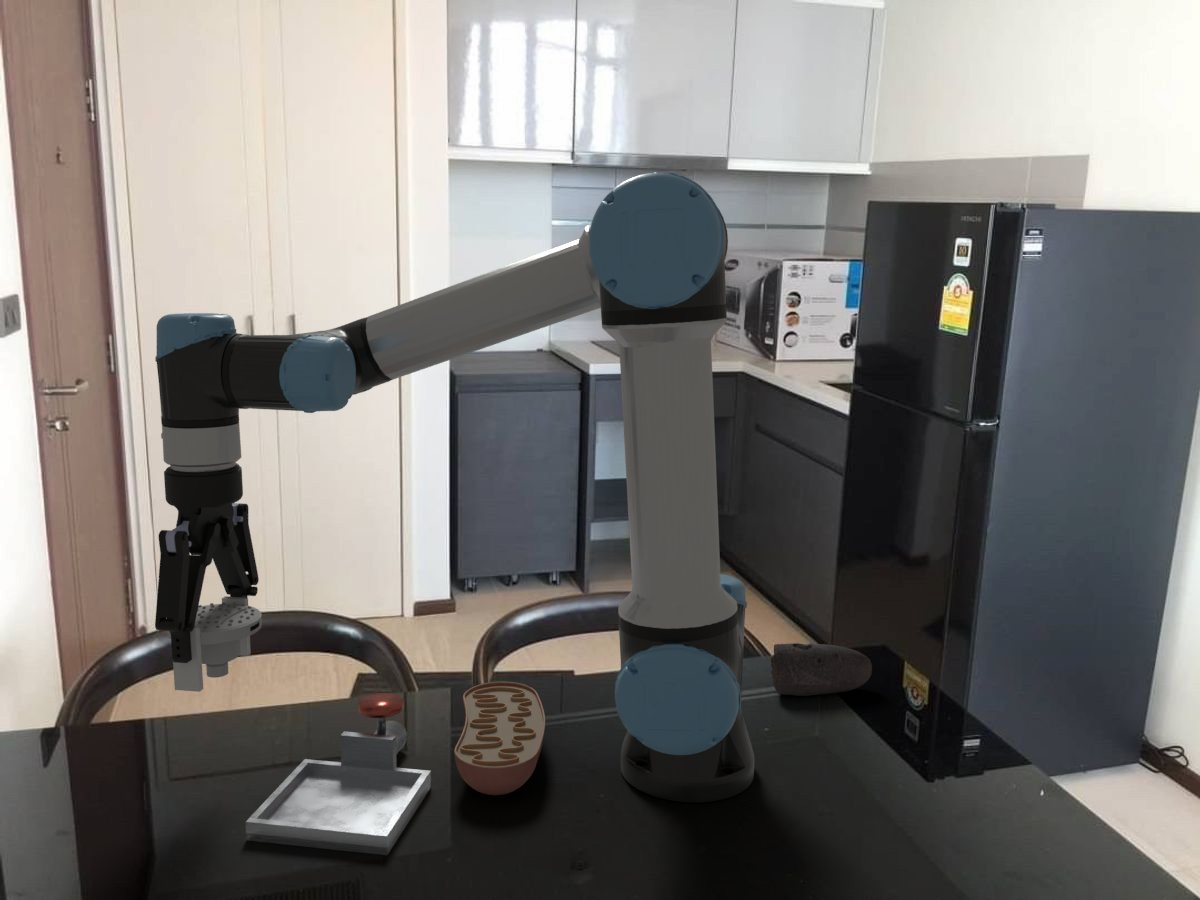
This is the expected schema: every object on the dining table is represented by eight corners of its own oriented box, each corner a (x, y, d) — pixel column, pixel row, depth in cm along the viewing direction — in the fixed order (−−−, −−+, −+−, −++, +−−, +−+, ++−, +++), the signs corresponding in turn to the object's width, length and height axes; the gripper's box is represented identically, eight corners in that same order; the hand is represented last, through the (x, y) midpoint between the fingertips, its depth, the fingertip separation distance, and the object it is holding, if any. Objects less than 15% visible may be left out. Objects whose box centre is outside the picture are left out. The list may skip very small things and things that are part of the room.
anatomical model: (465, 719, 131) (465, 681, 131) (543, 718, 132) (544, 680, 131) (451, 812, 109) (451, 767, 108) (546, 810, 110) (546, 766, 109)
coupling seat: (387, 855, 100) (385, 784, 99) (246, 840, 103) (243, 770, 101) (452, 754, 121) (451, 694, 120) (334, 744, 124) (332, 685, 122)
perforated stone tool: (863, 682, 145) (866, 635, 144) (879, 698, 140) (882, 649, 139) (759, 687, 143) (761, 639, 142) (771, 703, 138) (773, 653, 137)
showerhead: (194, 591, 115) (277, 598, 114) (198, 654, 117) (280, 661, 115) (141, 618, 106) (230, 626, 104) (145, 686, 108) (234, 694, 106)
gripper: (223, 445, 119) (233, 633, 122) (103, 484, 97) (119, 710, 101) (285, 448, 117) (293, 637, 121) (177, 487, 96) (191, 716, 100)
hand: (214, 670), depth 111 cm, fingers closed on showerhead, 9 cm apart
